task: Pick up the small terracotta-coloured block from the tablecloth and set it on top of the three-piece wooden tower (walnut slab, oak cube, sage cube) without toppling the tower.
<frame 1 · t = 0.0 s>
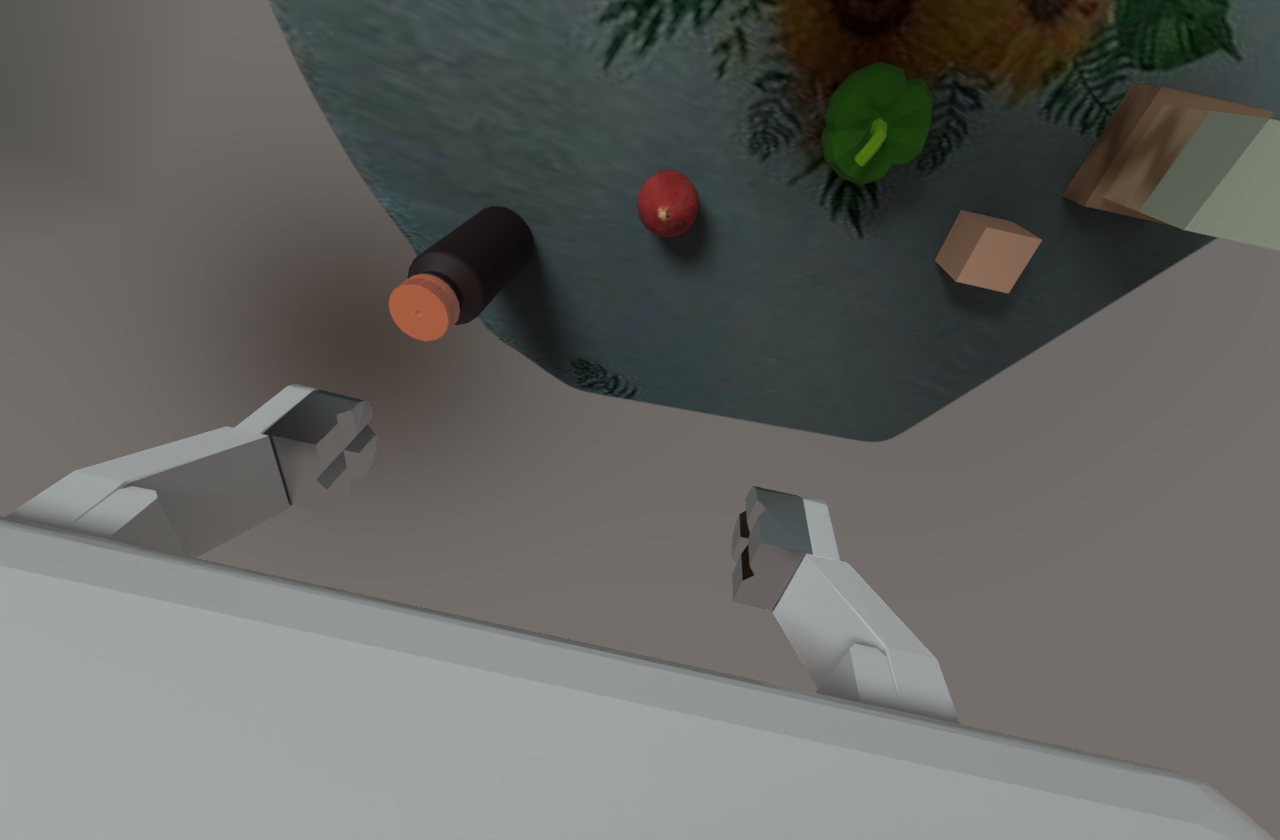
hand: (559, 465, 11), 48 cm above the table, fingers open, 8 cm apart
bell pepper: (857, 116, 48), on the table
sage cube: (1218, 173, 40), point 9 cm above the table, touching oak cube
bottle: (503, 237, 58), on the table
walnut slab: (1142, 153, 47), on the table, touching oak cube
oak cube: (1173, 162, 44), point 4 cm above the table, touching sage cube, walnut slab
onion: (671, 195, 53), on the table
terracotta block: (972, 241, 52), on the table
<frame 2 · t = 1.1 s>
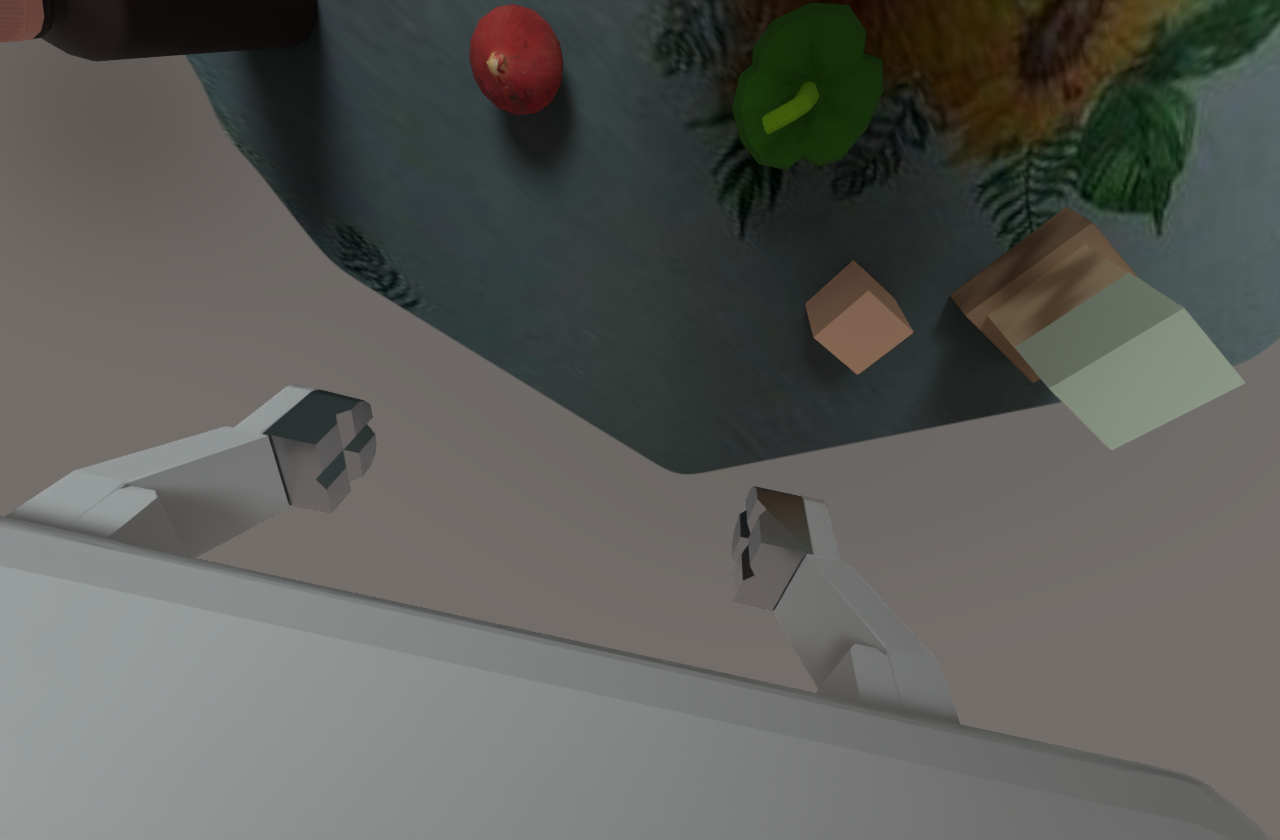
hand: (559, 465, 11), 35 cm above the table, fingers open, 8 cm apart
bell pepper: (795, 81, 36), on the table
sage cube: (1098, 344, 35), point 9 cm above the table, touching oak cube
walnut slab: (1035, 288, 42), on the table, touching oak cube
oak cube: (1061, 311, 39), point 4 cm above the table, touching sage cube, walnut slab
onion: (535, 58, 37), on the table
terracotta block: (848, 300, 44), on the table
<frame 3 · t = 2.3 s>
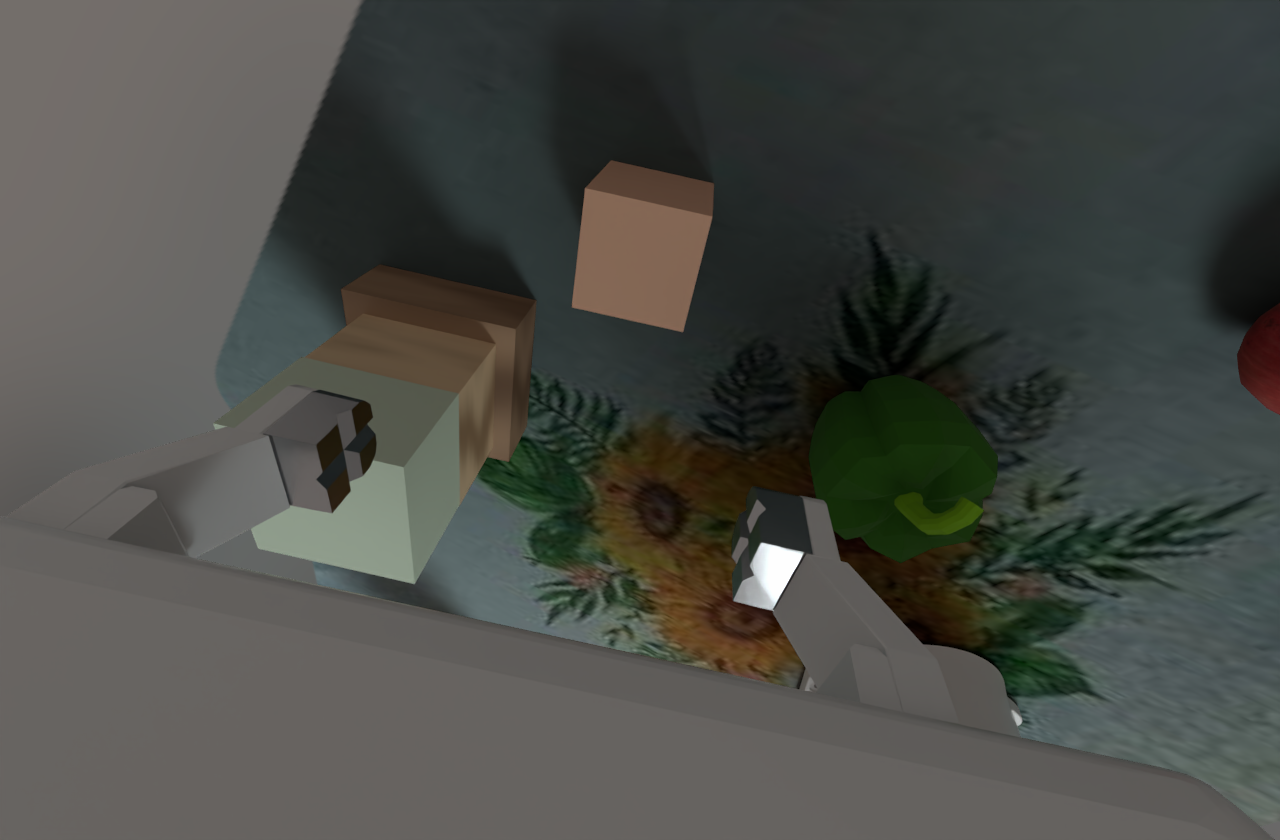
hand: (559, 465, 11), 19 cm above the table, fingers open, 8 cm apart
bell pepper: (873, 414, 32), on the table
sage cube: (387, 436, 25), point 9 cm above the table, touching oak cube
walnut slab: (461, 349, 33), on the table
oak cube: (432, 384, 29), point 4 cm above the table, touching sage cube
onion: (1264, 318, 26), on the table
terracotta block: (652, 224, 27), on the table
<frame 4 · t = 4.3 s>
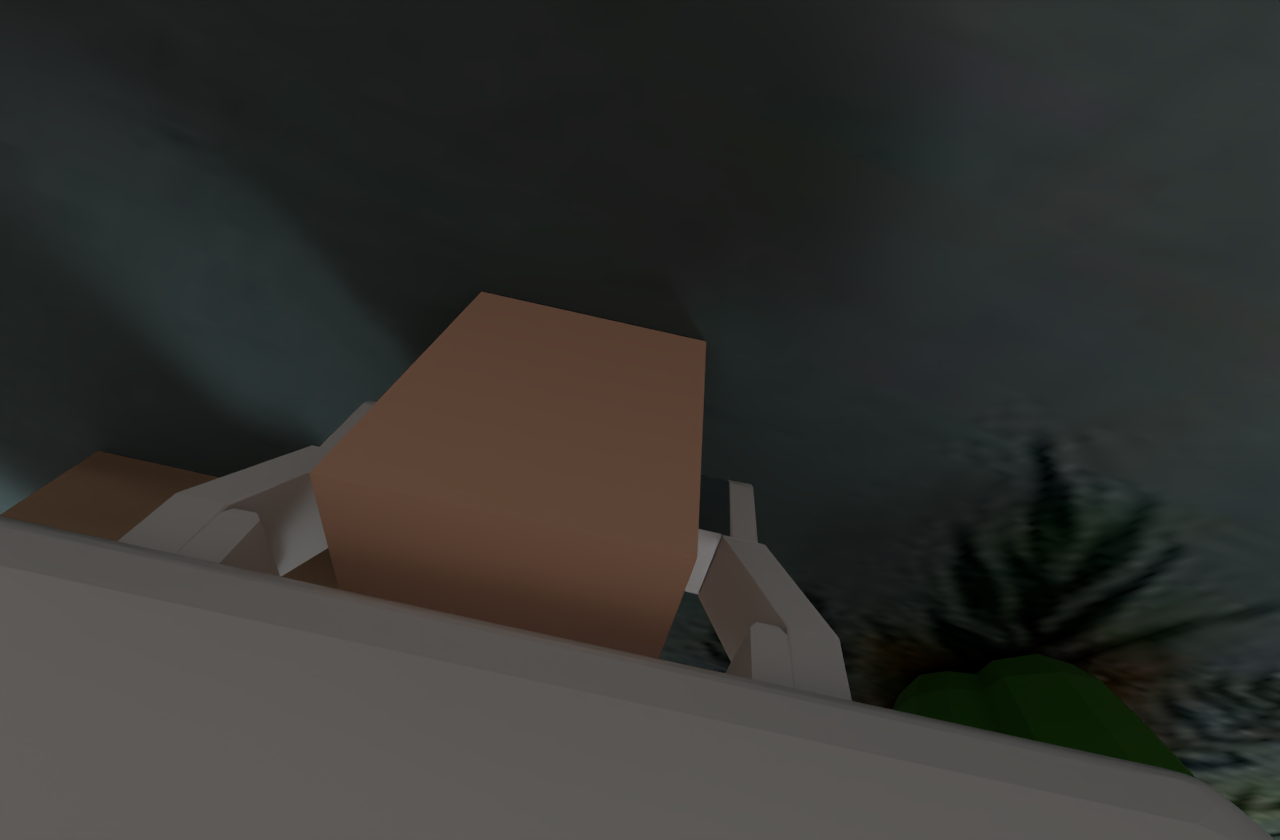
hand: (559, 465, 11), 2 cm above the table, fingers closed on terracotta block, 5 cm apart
bell pepper: (987, 689, 18), on the table
walnut slab: (282, 565, 19), on the table, touching oak cube
terracotta block: (581, 408, 13), on the table, touching gripper
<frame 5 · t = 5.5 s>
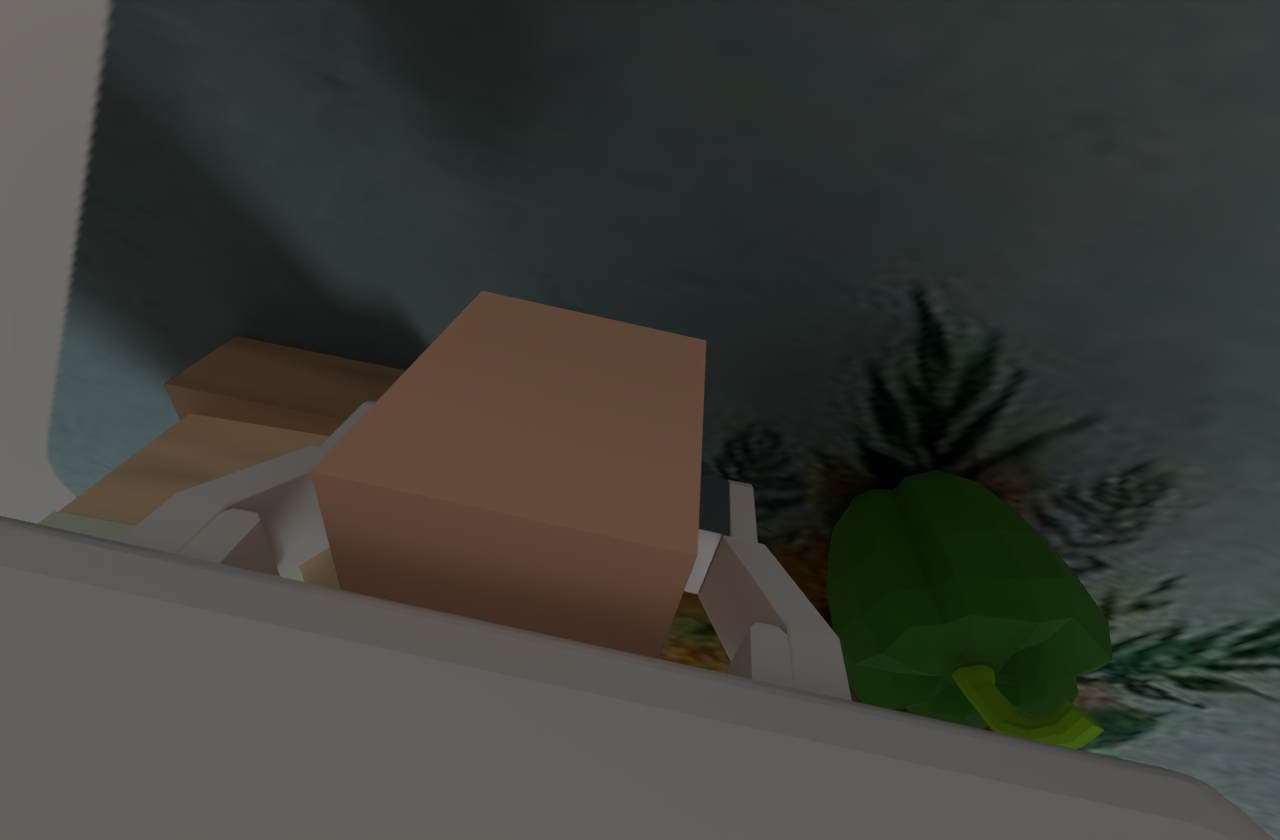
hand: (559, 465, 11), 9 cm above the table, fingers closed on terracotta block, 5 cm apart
bell pepper: (907, 512, 24), on the table
sage cube: (214, 602, 17), point 9 cm above the table, touching oak cube
walnut slab: (366, 436, 25), on the table, touching oak cube
oak cube: (307, 495, 22), point 4 cm above the table, touching sage cube, walnut slab
terracotta block: (581, 407, 13), point 7 cm above the table, touching gripper
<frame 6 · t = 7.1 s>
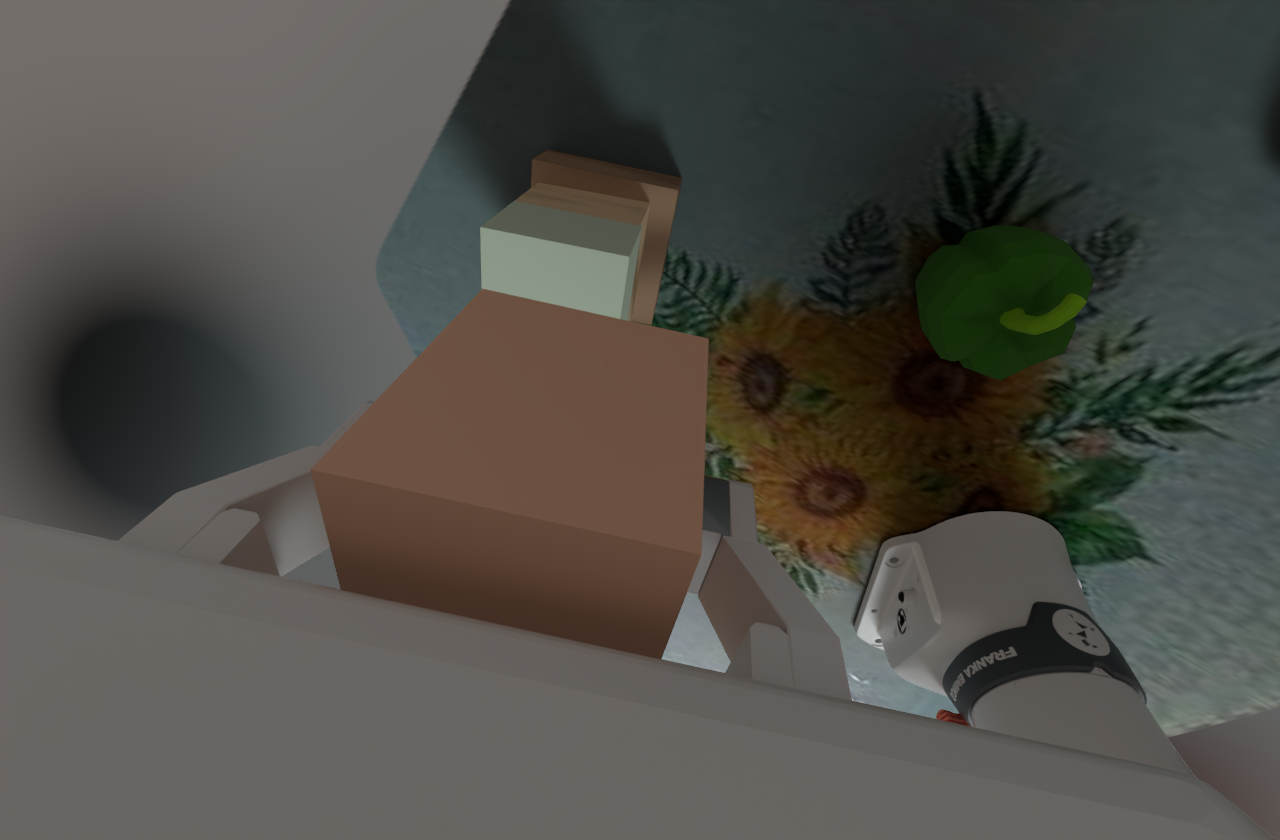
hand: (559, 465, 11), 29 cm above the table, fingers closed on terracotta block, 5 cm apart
bell pepper: (964, 272, 36), on the table
sage cube: (572, 275, 31), point 9 cm above the table, touching oak cube
walnut slab: (606, 230, 38), on the table, touching oak cube
oak cube: (589, 248, 35), point 4 cm above the table, touching sage cube, walnut slab
terracotta block: (582, 406, 13), point 27 cm above the table, touching gripper
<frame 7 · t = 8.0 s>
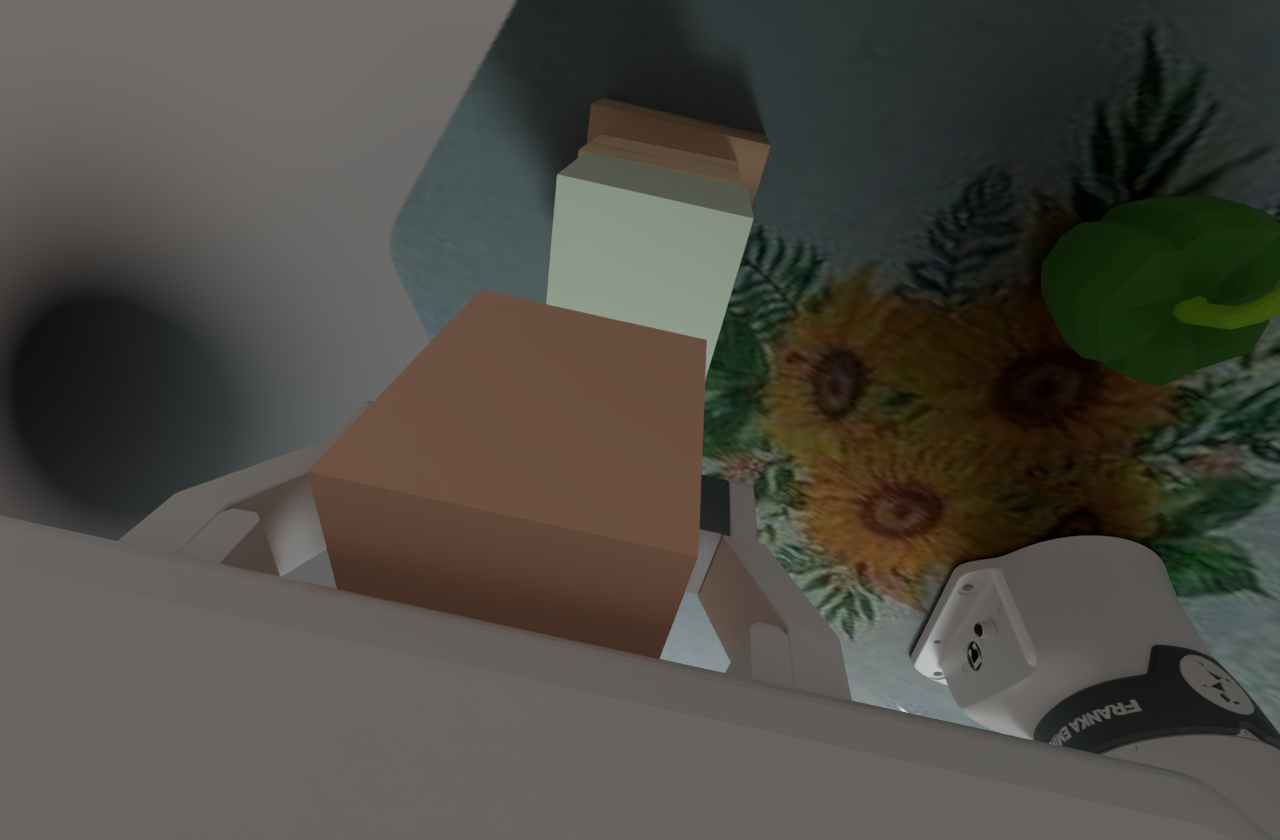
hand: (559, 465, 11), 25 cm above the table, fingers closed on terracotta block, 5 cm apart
bell pepper: (1096, 257, 30), on the table
sage cube: (651, 250, 25), point 9 cm above the table
walnut slab: (667, 200, 32), on the table, touching oak cube
oak cube: (656, 219, 29), point 4 cm above the table, touching walnut slab
terracotta block: (580, 407, 13), point 23 cm above the table, touching gripper
when the fingers open (17 cm above the table, at t = 9.7 s): terracotta block moves 1 cm, resting on sage cube.
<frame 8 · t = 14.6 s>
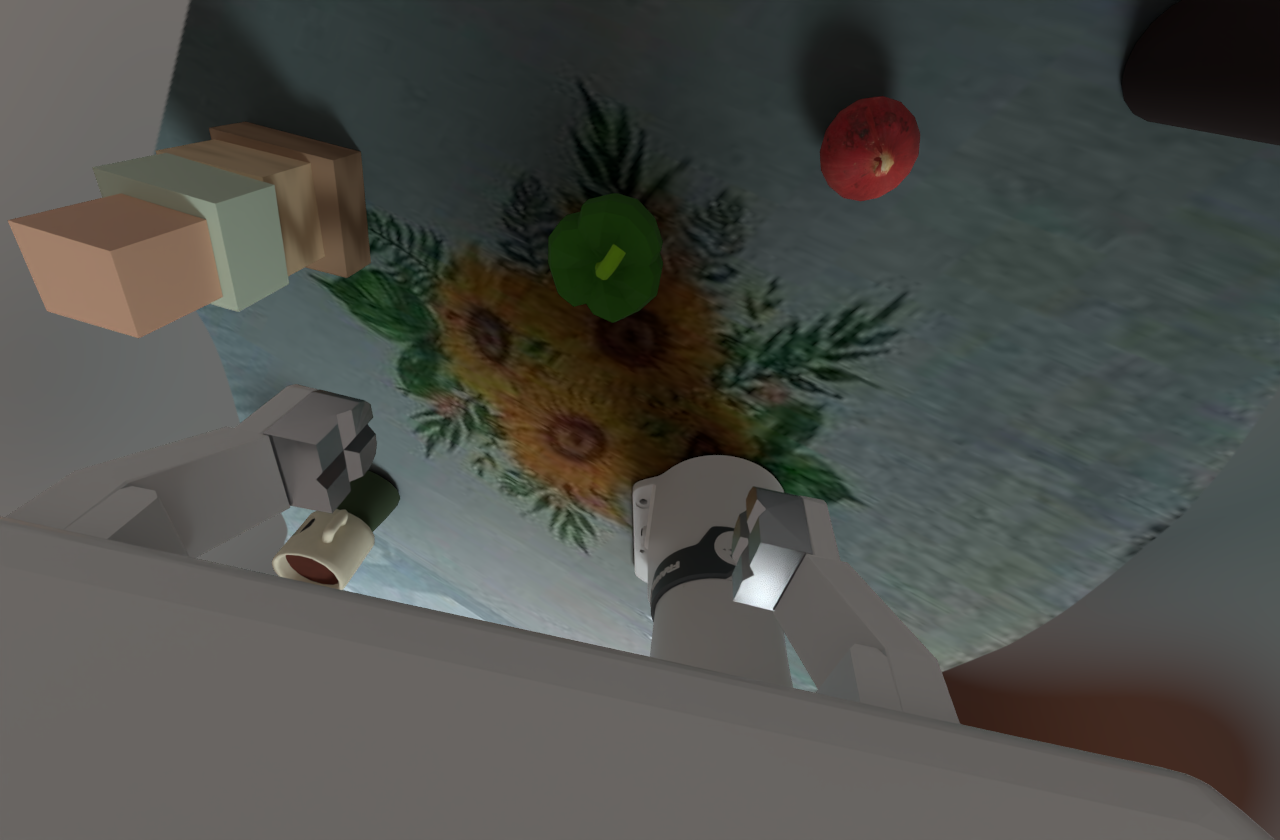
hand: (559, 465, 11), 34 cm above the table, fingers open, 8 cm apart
bell pepper: (621, 237, 43), on the table
sage cube: (231, 222, 36), point 9 cm above the table, touching oak cube, terracotta block
bottle: (1183, 57, 32), on the table
walnut slab: (314, 195, 44), on the table, touching oak cube
oak cube: (272, 200, 40), point 4 cm above the table, touching sage cube, walnut slab
character mug: (377, 485, 63), on the table
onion: (855, 141, 37), on the table
terracotta block: (174, 247, 32), point 14 cm above the table, touching sage cube
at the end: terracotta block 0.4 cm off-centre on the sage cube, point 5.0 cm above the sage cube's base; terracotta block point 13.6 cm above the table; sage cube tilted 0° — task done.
